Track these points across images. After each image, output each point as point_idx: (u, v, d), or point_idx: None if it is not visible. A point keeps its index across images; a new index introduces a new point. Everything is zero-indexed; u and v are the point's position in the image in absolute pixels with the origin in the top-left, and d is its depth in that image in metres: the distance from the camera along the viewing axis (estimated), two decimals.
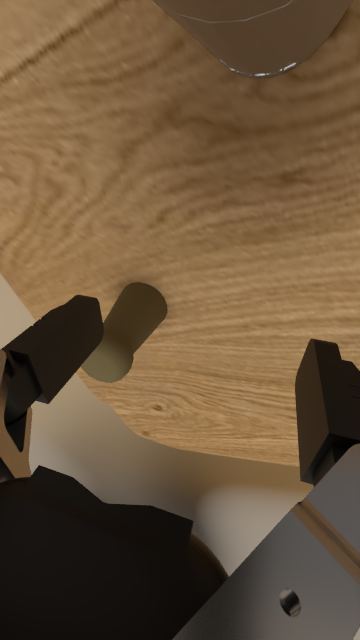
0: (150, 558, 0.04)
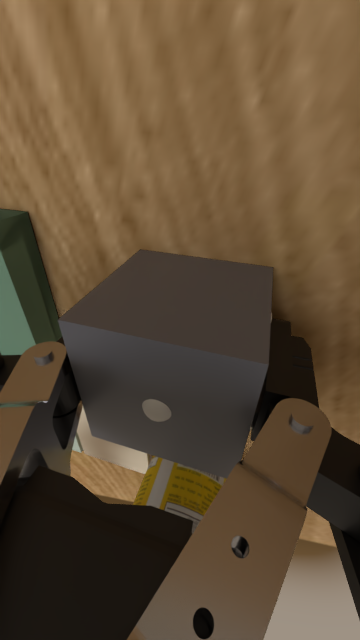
0: (150, 558, 0.04)
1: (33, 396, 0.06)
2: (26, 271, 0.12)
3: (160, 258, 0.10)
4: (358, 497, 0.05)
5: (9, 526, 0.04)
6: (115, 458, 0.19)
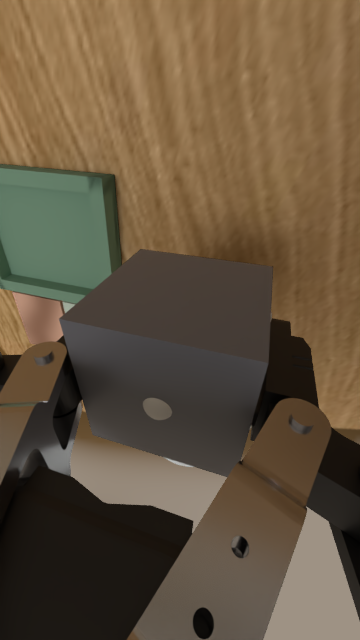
0: (150, 558, 0.04)
1: (33, 396, 0.06)
2: (110, 211, 0.19)
3: (161, 258, 0.10)
4: (358, 497, 0.05)
5: (9, 526, 0.04)
6: None
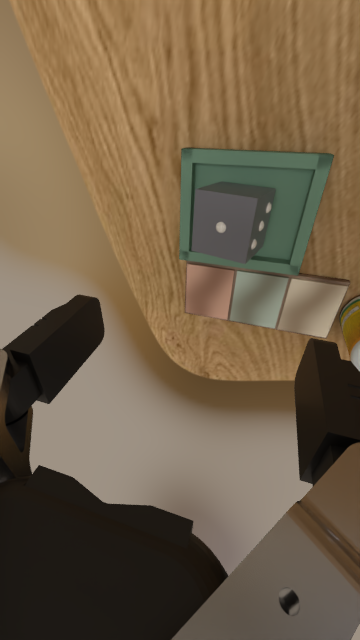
0: (150, 558, 0.04)
1: None
2: None
3: (229, 183, 0.24)
4: None
5: None
6: (304, 327, 0.30)
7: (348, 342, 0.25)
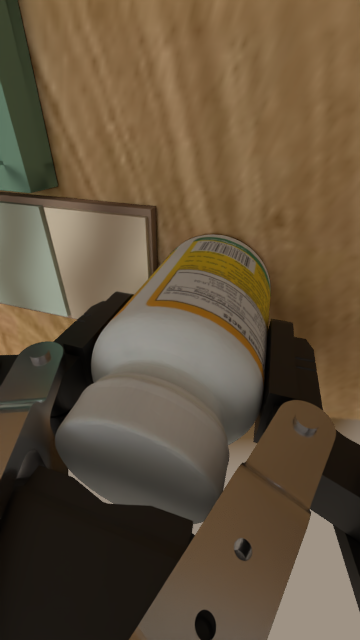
0: (150, 558, 0.04)
1: (30, 396, 0.06)
2: None
3: None
4: None
5: (8, 525, 0.04)
6: None
7: None
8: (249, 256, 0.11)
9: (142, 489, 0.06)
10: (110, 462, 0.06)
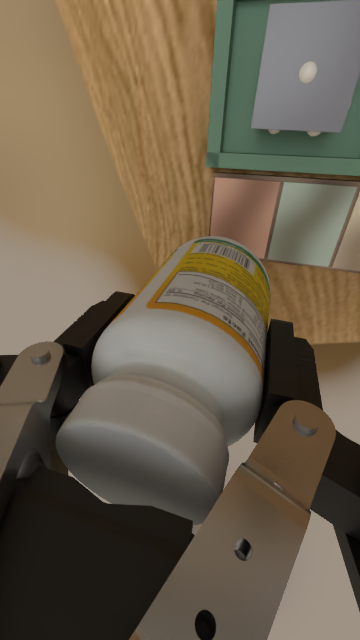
0: (150, 558, 0.04)
1: (30, 396, 0.06)
2: None
3: None
4: None
5: (8, 525, 0.04)
6: None
7: None
8: (249, 258, 0.11)
9: (142, 490, 0.06)
10: (110, 464, 0.06)
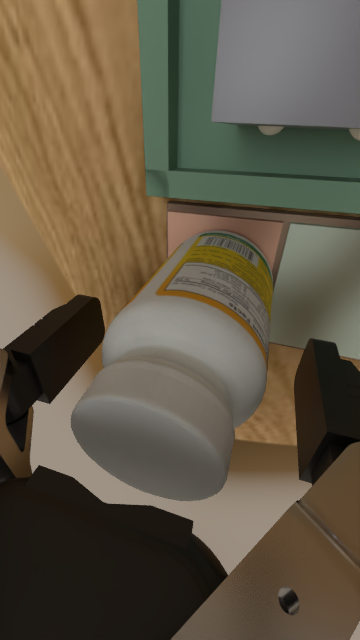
0: (150, 558, 0.04)
1: None
2: None
3: None
4: None
5: None
6: None
7: None
8: (252, 251, 0.11)
9: (152, 466, 0.07)
10: (123, 439, 0.06)
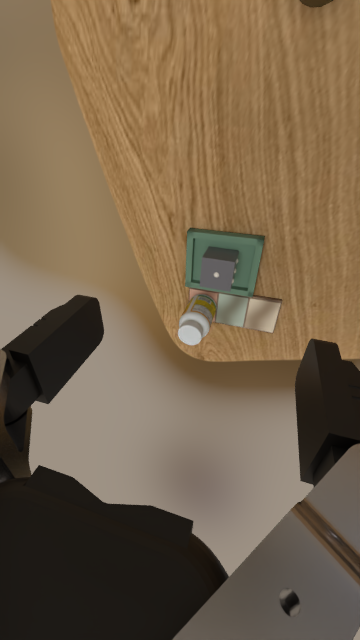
0: (150, 558, 0.04)
1: None
2: (261, 252, 0.43)
3: (214, 248, 0.44)
4: None
5: None
6: (259, 326, 0.50)
7: None
8: (210, 300, 0.49)
9: (190, 337, 0.44)
10: (186, 332, 0.44)
